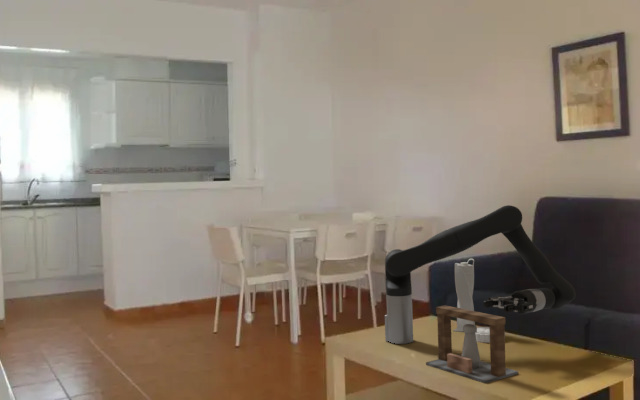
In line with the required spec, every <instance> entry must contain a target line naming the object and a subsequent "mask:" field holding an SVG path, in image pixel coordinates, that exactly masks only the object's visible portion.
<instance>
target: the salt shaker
mask: <svg viewBox="0 0 640 400" xmlns="http://www.w3.org/2000/svg"><path fill="white" fill-rule="evenodd" d="M477 328H478V327H477V325H476V324H475V325H473V324H466V325H464V326H463V332H462V333H464V337H463V343H462V351H461V355H462V357H466V358H469V359H472V368H477V367H478V365H479V363H480V361H481V356H480V350H479V347H478V342H477V341H476V336H475V333H476V332H477Z"/></svg>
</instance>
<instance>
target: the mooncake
mask: <svg viewBox="0 0 640 400" xmlns="http://www.w3.org/2000/svg"><path fill="white" fill-rule="evenodd" d="M475 336H476V341H477V343H487V344H488V343H489V344H490V326H479V327H477V332H476V333H475Z"/></svg>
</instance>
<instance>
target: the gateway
mask: <svg viewBox="0 0 640 400" xmlns="http://www.w3.org/2000/svg"><path fill="white" fill-rule="evenodd" d="M435 314H437V315H436V316H437V317H436V318H437V319H436V321H437V346H438V350H437V351H438V353H437V354H438V358H437V359H434V360H431V361H429V360H428V361H426V362H425V366H429V367H432V368H435V369H438V370H442V371H445V372H448V373H451V374H455V375H457V376H460V377H464V378H466V379H467V378H468V379H469V380H474V381H477V382H480V383H483V384H488V383H489V384H490V383H492V382H496V381H498V380H502V379H506V378H509V377H512V376H516V375H518V374H519V370H515V369H512V368H508V367H506V332H505V325H506V323H507V322H506V317H505V316H500V315H495V314H490V313H484V312H481V311H475V310H474V311H471V310H466V309H461V308H457V306H456V307H454V306H450V305H445V304H444V305H440V306H435ZM452 318H456V319H457V318H460V319H465V320H470V321H474V322H475V323H479V324H483V325H489V327H490V343H489V351H490V354H489V355H490V356H489V357H490V363H489V362H488V361H487V362H486V361H482V360H480V363H479V365H478V367H477V368H472V359H469V358H466V357H462V354H454V353H453V350H452V349H453V343H452V321H451V320H452Z"/></svg>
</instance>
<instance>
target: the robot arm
mask: <svg viewBox="0 0 640 400" xmlns="http://www.w3.org/2000/svg"><path fill="white" fill-rule="evenodd" d="M522 222H523V213H522V211H521V210H520V209H519V208H518V207H516V206H514V205H508V204H507V205H504V206H501V207H499V208H498V209H496V210H494V211H492V212H490V213H488V214H486V215H484V216H482V217H480V218H477V219H474V220H471V221H467V222H464V223H462V224H459V225H456V226H453V227H451V228H450V227H449V228H448V229H445V230H443V231H441V232H439V233H436V234H435V235H433V236H431V237H430V238H428V239H427V240H425V241H424V242H422V243H420V244H418V245H415V246H413V247H409V248H407V249H403V250H402V249H399V248H397V249H393V250H390V252H388V253H387V254H386V256H385V259H384V271H385V272H384V275H385V294H386V296H385V299H386V314H385V315H384V331H385V332H384V333H385V334H384V335H385V337H384V338H385V339H384V340H385V342H388V341H389V342H388V343H390V342H391V343H390V344H394V343H395V344H396V345H397V344H399V345H405V344H406V345H407V344H410V343H412V342H413V343H414V325H413V323H414V321H413V297H412V296H413V295H412V294H413V293H412V291H413V290H412V275H411V273H412V272H413V271H415V270H417V269H419V268H421V267H423V266H425V265H427V264H430V263H433V262H437V261H440V260H444V259H446V258H449V257H451V256H455V255H457V254H460V253H462V252H465V251H466V250H468V249H471V248H473V247H474V246H476V245H478V244H479V243H481V242H482V241H484V240H486V239H487V238H490V237H492V236H495V235H499V234H501V235H503V236H504V237H505V238H506V239H507V240H508V241H509V243H510V244H511V245H512V246H513V247H514V248H515V250H516V251H517V253H518V254H519V255H520V257H521V258H522V260H523V262H524V263H525V265H526V266H527V268H528V269H529V271H530V272H531V274H532V275H533V277H534V278H535V280H536V281H537V283H539V284H540V285H545V284H550V285H551V286H553V287H551V288H548V287H539V288H529V289H522V290H516V291H514V292H513V293H512V294H511V295H510V296H504V297H503V296H501V295H499V296H492V297H487V300H484V301H483V308H485V309H489V308H499V309H503V312H504V313H511V312H512V313H513V312H515V313H517V314H519V315H524V314H529V313H534V312H538V311H541V310H546V309H547V310H556V309H560V308H562V307H564V306H566V305H567V304H570V303H571V302H573V301H574V300H575V299H576V296H577V295H576V290H575V288H574V286H573V285H572V284H571V283H570V282H569V281H568V280H567V279H565V278H564V277H563V276H562V275H561V274H560V273H558V272H557V270H555V268H554V267H553V265H552V264H551V263H550V261H549V259H548V258H547V257H546V255H545V254H544V253H543V252H542V251H541V249H539V247H538V246H537V245H536V244H535V243H534V242H533V241H532V240H531V239H530V237H529V236H528V234H527V233H526V231H525V229H524V227H523V225H522Z"/></svg>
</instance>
